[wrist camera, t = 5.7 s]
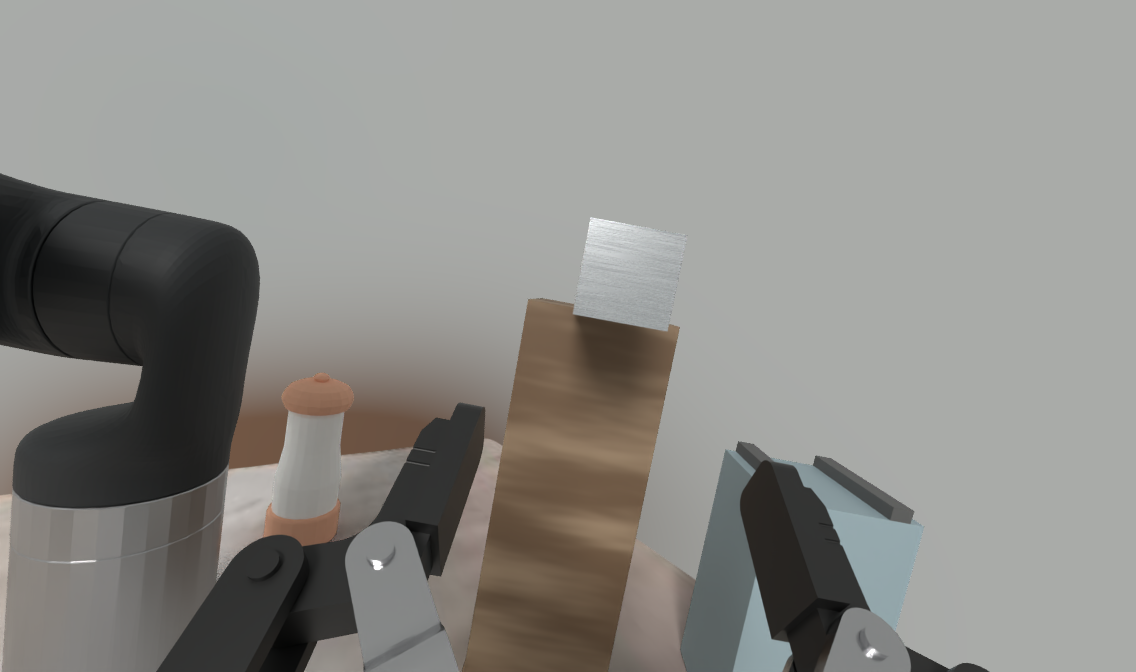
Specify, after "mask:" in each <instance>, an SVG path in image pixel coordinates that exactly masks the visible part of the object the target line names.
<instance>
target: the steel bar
mask: <svg viewBox="0 0 1136 672" xmlns="http://www.w3.org/2000/svg"><path fill="white" fill-rule="evenodd" d="M686 239H687V235H683V234H678V233H673V232H667V231H662V230H656V229H651V228H645V227H640V226H634V225H629V224H624V223H618V222H613V221H607V220H602V219H596V218H590V223H589V229H588V234H587V239H586V244H585V249H584V255H583V260H582V265H581V271H580V275H579V281H578V287H577V292H576V297H575V303H574V309H573V314H574V315H580V316H585V317H591V318H596V319H602V320H607V321H612V322H618V323H623V324H629V325H634V326H640V327H645V328H650V329H656V330H661V331H667V332H668V327H669V322H670V317H671V312H672V307H673V303H674V298H675V293H676V288H677V283H678V278H679V273H680V269H681V264H682V259H683V254H684V249H685V245H686Z"/></svg>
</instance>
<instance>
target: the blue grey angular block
mask: <svg viewBox="0 0 1136 672" xmlns="http://www.w3.org/2000/svg"><path fill="white" fill-rule="evenodd" d="M764 460H768V461H773V462H779V463H784V464H789V465H793V466H794V467H795V468H796V469H797V471H798V473H799V476H800V478H801V481H802V483H803V486H804V487H808V488H811V489H812V490H813V491H814V493H815V494H816V495H817V496H818V498H819V499H820V500H821V501H822V502H823V504H824V505H825V506H826V509H827V511H828V513H829V516H830V518H831V520H832V523H833V525H834V526H833V528H834V529H835V530H836V532H837V534H838V537H839V539H840V545H842V546H843V548H844V551H845V553H846V555H847V558H848V560H849V562H850V565H851V567H852V569H853V572H854V574H855V576H856V579H857V581H858V583H859V586H860V588H861V590H862V593H863V595H864V597H865V600H866V602H867V604H868V606H869V608H870V610H871V612H873V613H874V614H876V615H878V616H879V617H881V618H882V619H883V620H884V621H885V622H887V623H888V624H889V625H890V626H891V627H892V628H893V629H894V631H895V630H896V627H897V623H898V619H899V616H900V612H901V608H902V605H903V601H904V598H905V594H906V590H907V587H908V583H909V580H910V576H911V573H912V569H913V565H914V562H915V558H916V554H917V551H918V547H919V544H920V540H921V536H922V533H923V529H924V526H922V525H921V524H919V523H918V522H916V521H915V520H913V519H912V517H913V514H914V511H913V510H911V509H910V508H908V507H907V506H905V505H904V504H902V503H900V502H899V501H897V500H896V499H894V498H893V497H891V496H889V495H888V494H886V493H885V492H883V491H881V490H880V489H878V488H877V487H875V486H874V485H872V484H870V483H869V482H867V481H866V480H864V479H863V478H861V477H859V476H858V475H856V474H855V473H853V472H852V471H850V470H848V469H847V468H845V467H844V466H842V465H841V464H839V463H837V462H836V461H834V460H833V459H831V458H826V457H820V456H815V460H814V464H813V465H807V464H801V463H797V462H791V461H786V460H780V459H775V458H770V457H768V456H767V455H766V454H765V453H764V452H762V451H761V450H760V449H759V448H758V447H756V446H755V445H754V444H750V443H744V442H739V441H738V444H737V448H736V451H731V450H725V454H724V458H723V463H722V468H721V472H720V476H719V481H718V485H717V489H716V494H715V498H714V503H713V507H712V512H711V516H710V521H709V525H708V529H707V534H706V538H705V543H704V547H703V551H702V556H701V560H700V565H699V569H698V574H697V578H696V582H695V587H694V591H693V596H692V600H691V605H690V609H689V613H688V618H687V622H686V627H685V631H684V636H683V640H682V644H681V649H680V650H681V653H682V656H683V660H684V663H685V667H686V670H687V672H782V671H783V669H784V666H785V664H786V661H787V659H788V658H789V656H790V655H791V654H792V651H791V647H790V644H789V642H783V641H778V640H772V639H771V635H770V631H769V627H768V623H767V619H766V615H765V611H764V606H763V602H762V598H761V594H760V590H759V586H758V582H757V578H756V574H755V570H754V566H753V562H752V558H751V553H750V549H749V545H748V541H747V537H746V533H745V529H744V525H743V521H742V517H741V512H740V498H741V494H742V491H743V489H744V488H745V486H746V485H747V483H748V482H749V480H750V479H751V477H752V476H753V474H754V473H755V471H756V470H757V468H758V466H759V465H760V464H761V462H762V461H764Z"/></svg>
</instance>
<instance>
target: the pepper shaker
mask: <svg viewBox="0 0 1136 672" xmlns="http://www.w3.org/2000/svg"><path fill="white" fill-rule="evenodd" d="M353 400H354V395H353V392H352V390H351V388H350V387H349V386H348V385H347V384H345V383H343V382H341V381H339V380H336V379H331V378H330V377H329V375H328V374H326V373H317V374H315V376H314V377H310V378H304V379H301V380H297V381H294V382H292V383H291V384H290V385H289V386H288V387H287V388H286V389H285V390H284V392H283V394H282V401H283V404H284V406H285V408H286V409H287V410H289V413H288V421H287V428H286V436H285V444H284V448H283V452H282V455H281V458H280V461H279V464H278V467H277V471H276V474H275V477H274V483H273V495H272V503H271V504H270V505H269V507H268V509H267V512H266V520H265V529H264V537H267V536H271V535H288V536H291V537H293V538H295V539H296V540H298V541H299V542H300V544H301V545H302V546H307V545H314V544H321V543H327V542H329V541H330V540H332V538H333V537H334V536H335V535H336V531H337V525H338V517H339V510H340V501H339V499H338V492H339V486H340V480H341V454H340V441H341V433H342V425H343V418H344V412H345V411H346V410H348V409H349V408H350V406H351V405H352V403H353ZM264 537H263V538H264Z"/></svg>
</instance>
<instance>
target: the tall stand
mask: <svg viewBox="0 0 1136 672" xmlns="http://www.w3.org/2000/svg"><path fill="white" fill-rule="evenodd" d="M573 309H574V304H570V303H565V302H560V301H554V300H549V299H543V298H540V299H529V300H528V305H527V310H526V316H525V321H524V328H523V333H522V339H521V345H520V350H519V356H518V362H517V368H516V374H515V379H514V385H513V391H512V396H511V402H510V408H509V414H508V419H507V426H506V431H505V437H504V443H503V448H502V454H501V460H500V465H499V471H498V477H497V483H496V488H495V494H494V500H493V506H492V511H491V517H490V523H489V529H488V534H487V540H486V546H485V552H484V557H483V563H482V569H481V575H480V581H479V586H478V592H477V598H476V604H475V609H474V615H473V621H472V627H471V632H470V638H469V644H468V650H467V655H466V659H465V662H464V666H463V669H462V672H608V668H609V663H610V658H611V654H612V649H613V644H614V639H615V634H616V630H617V625H618V620H619V615H620V611H621V606H622V601H623V596H624V591H625V587H626V582H627V577H628V572H629V568H630V563H631V558H632V553H633V548H634V544H635V539H636V534H637V529H638V524H639V519H640V515H641V510H642V505H643V501H644V496H645V491H646V486H647V481H648V477H649V472H650V467H651V462H652V458H653V453H654V448H655V443H656V438H657V434H658V429H659V424H660V419H661V414H662V409H663V405H664V400H665V395H666V391H667V386H668V381H669V376H670V371H671V367H672V362H673V357H674V352H675V348H676V343H677V338H678V333H679V329H680V327H678V326H674V325H671V324H669V327H668V332H667V331H661V330H656V329H650V328H645V327H640V326H634V325H629V324H623V323H618V322H612V321H607V320H602V319H596V318H591V317H585V316H580V315H574V314H573Z"/></svg>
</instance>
